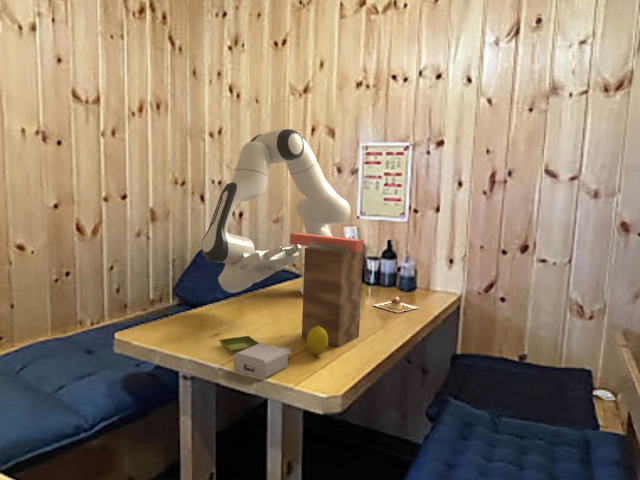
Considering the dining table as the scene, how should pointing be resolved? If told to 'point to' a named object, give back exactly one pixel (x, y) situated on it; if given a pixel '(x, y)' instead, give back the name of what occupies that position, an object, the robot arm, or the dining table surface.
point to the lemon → (317, 340)
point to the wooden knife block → (332, 292)
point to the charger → (261, 360)
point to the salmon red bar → (326, 241)
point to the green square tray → (238, 343)
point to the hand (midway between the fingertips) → (290, 247)
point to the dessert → (396, 305)
